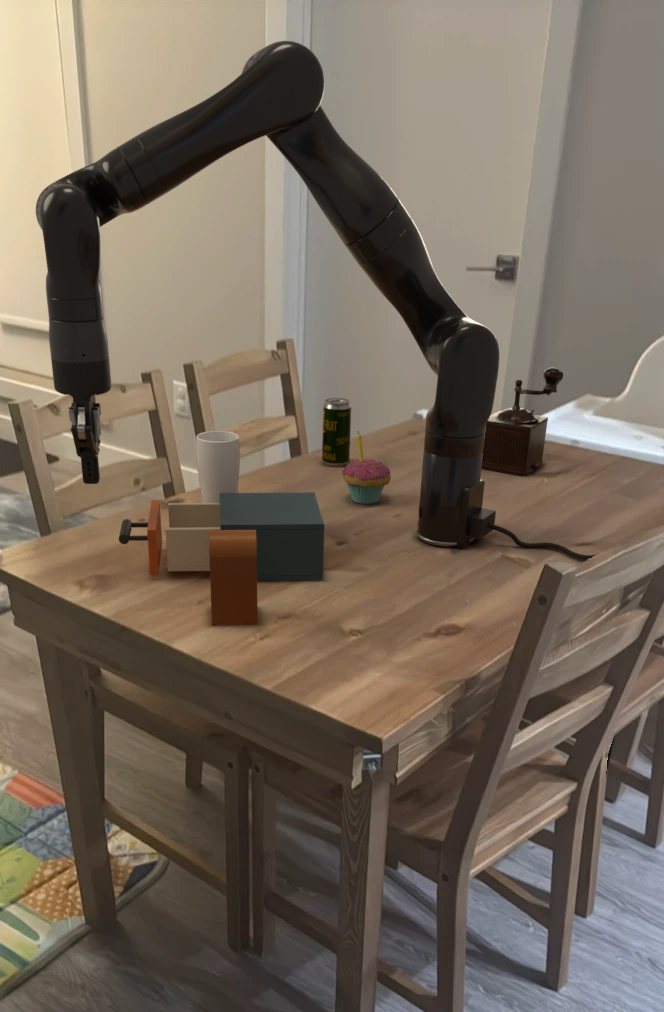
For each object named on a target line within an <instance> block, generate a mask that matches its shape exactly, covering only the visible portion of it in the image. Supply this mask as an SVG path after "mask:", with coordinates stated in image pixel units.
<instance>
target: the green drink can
mask: <svg viewBox="0 0 664 1012" xmlns="http://www.w3.org/2000/svg"><path fill="white" fill-rule="evenodd" d="M351 427H352V405H351V400H350V399H348V398H344V397H329V398H326V399H324V403H323V406H322V441H321V442H322V444H321V447H322V449H321V460H322V462H323V464H324V465H325V466H328V467H334V468H341V467H346V466H347V464H348V465H349V463H350V452H351Z"/></svg>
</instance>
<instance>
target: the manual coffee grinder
mask: <svg viewBox="0 0 664 1012" xmlns="http://www.w3.org/2000/svg"><path fill="white" fill-rule="evenodd" d="M542 376H543V380H544V382H545V385H544V387H543V388H542V390H533V389H522V386H523V381H522V379H517V380H515V387H514V392H515V394H514V395H515V396H514V404H513V406H512V407H508V408H506V409H503V410H499V411H496V412H494V413H492V414H491V415H490V417H489V419H488V421H487V424H486V432H485V440H484V449H483V458H482V468H481V469H483V470H487V471H488V470H489V471H494V472H498V473H499V472H500V473H504V474H511V475H515V476H522V477H526V476H527V475H529V474H531V473H532V472H534V471H536V470H538V468H539V467H540V466H541V465H542V463H543V456H544V450H545V443H546V435H547V428H548V421H549V417H548V416H543V415H537V414H534V411H535V409H532V410H531V411H530V410H528V409H527V408H526V407H521V406H520V400H521V395H530V396H542V395H546V396H550V395H551V394H553V393H554V394H556V393H557V392H558V390H557V389H558V385H559V384H560V383H561V381H563V378H564V372H563V371H562V370H561V369H560V368H557V367H552V366H551V367H547V368H546V369H545V370H544V372H543V375H542Z"/></svg>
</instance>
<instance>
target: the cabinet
mask: <svg viewBox="0 0 664 1012" xmlns="http://www.w3.org/2000/svg"><path fill="white" fill-rule="evenodd" d="M220 525H221V530H256V539H257V582H292V581H293V582H296V581H297V582H300V581H303V582H304V581H323V580H324V559H325V558H324V557H325V556H324V553H325V552H324V551H325V522H324V518H323V515H322V511H321V508H320V505H319V500H318V498H317V495H316V491H315V492H238V493H220Z"/></svg>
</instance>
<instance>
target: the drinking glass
mask: <svg viewBox="0 0 664 1012" xmlns="http://www.w3.org/2000/svg"><path fill="white" fill-rule="evenodd" d="M195 438H196V439H195V440H196V441H195V451H196V452H195V453H196V467H197V475H198V483H199V492H200V499H201V503H220V493H239V482H240V469H241V468H240V466H241V450H240V449H241V448H240V436H239V435H238V434H237V433H235V432H232V431H227V430H208V431H203V432H200V433H198V434H197V435H196V437H195Z"/></svg>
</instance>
